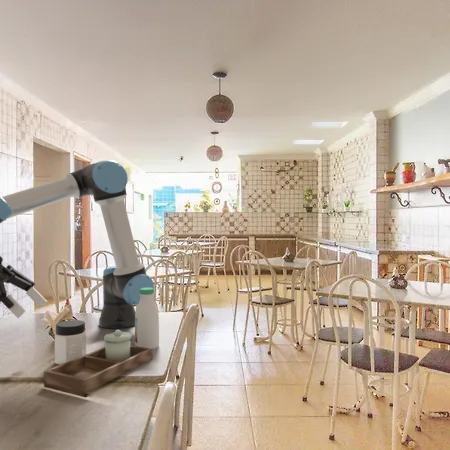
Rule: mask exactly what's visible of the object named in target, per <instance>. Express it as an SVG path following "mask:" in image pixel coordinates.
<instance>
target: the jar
mask: <svg viewBox="0 0 450 450" xmlns="http://www.w3.org/2000/svg"><path fill="white" fill-rule="evenodd" d="M86 354H87V330H86V321H84V320H80V319H79V320H78V319H70V320H69V319H68V320H64V321H59V322H57V323H56V324H55V334H54V364H57V365H61V364H64V363H66V362H69V361H71V360H74V359H76V358H79V357H81V356H84V355H86Z"/></svg>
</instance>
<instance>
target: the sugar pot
mask: <svg viewBox="0 0 450 450" xmlns="http://www.w3.org/2000/svg"><path fill="white" fill-rule="evenodd" d="M103 339H104V342H105V344H104V345H105V346H104V347H105V353H106V359H107V360H113V361H118V362H122V361H124V360H126V359H128V358H130V345H131V339H132V333H130V332H128V331H121V330H120V329H116V330H115V331H114V332H109V333H107V334H105V335H104V336H103Z"/></svg>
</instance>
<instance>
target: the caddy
mask: <svg viewBox="0 0 450 450" xmlns="http://www.w3.org/2000/svg"><path fill="white" fill-rule="evenodd" d="M151 360H153V349H149V348H143V347H138V346H135V345H133V344H130V358H128V359H126V360H124V361H122V362H118V361H113V360H107V359H106V353H105V346H104V347H101V348H99V349H96V350H94V351H91V352H88V353H86V355H84V356H81V357H79V358H76V359H74V360H71V361H69V362H66V363H64V364H61V365H60V364H57V365H56V366H54V367H51V368H48V369H46V370H44V371H43V381H44V382H43V388H48V389H51V390H56V391H59V392H64V393H67V394H71V395H74V396H78V397H79V396H80V397H82V398H86V397H88V396H90V391H92V390H94V389H96V388H98V387H100V386H102V385H105V384H106V383H108V382H111V381H112V380H114V379H116V378H118V377H120V376H122V375H124V374H126V373H128V372H130V371H131V370H134V369H136V368H137V367H139V366H141V365H143V364H145V363H147V362H149V361H151ZM88 392H89V393H88Z"/></svg>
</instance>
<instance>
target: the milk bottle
mask: <svg viewBox="0 0 450 450" xmlns="http://www.w3.org/2000/svg"><path fill="white" fill-rule="evenodd" d="M154 295H155V288H154V289H153V288H141V289H140V302H139V304H138V305H137V307H136V309H135V312H136V313H135V325H134V346H138V347H143V348H149V349H152V350H154V349H157V348H159V346H160V317H159V309H158V307H157V304H156V303H155V299H154Z"/></svg>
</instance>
